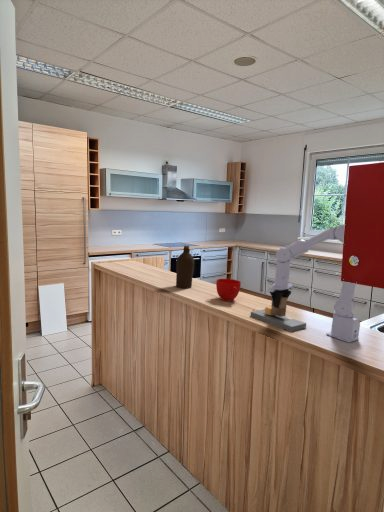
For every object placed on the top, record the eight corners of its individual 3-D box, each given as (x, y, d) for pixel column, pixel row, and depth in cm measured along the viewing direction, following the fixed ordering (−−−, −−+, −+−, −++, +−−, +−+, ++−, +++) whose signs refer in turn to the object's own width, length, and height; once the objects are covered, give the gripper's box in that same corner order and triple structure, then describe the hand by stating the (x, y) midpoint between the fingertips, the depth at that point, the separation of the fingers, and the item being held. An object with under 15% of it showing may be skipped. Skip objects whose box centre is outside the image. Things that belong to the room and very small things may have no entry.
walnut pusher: (285, 315, 142) (287, 297, 141) (280, 316, 140) (282, 298, 139) (276, 312, 146) (277, 295, 145) (270, 313, 144) (272, 295, 143)
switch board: (305, 327, 138) (306, 323, 138) (291, 331, 132) (291, 326, 132) (265, 313, 155) (265, 309, 155) (250, 316, 149) (250, 311, 149)
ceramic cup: (222, 304, 165) (224, 285, 164) (211, 296, 181) (213, 278, 180) (246, 304, 169) (248, 285, 167) (233, 296, 185) (235, 278, 184)
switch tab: (275, 314, 147) (276, 307, 146) (270, 315, 144) (270, 308, 144) (270, 312, 149) (271, 306, 149) (264, 313, 147) (265, 307, 146)
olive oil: (190, 289, 194) (193, 247, 191) (173, 287, 196) (175, 245, 193) (193, 286, 204) (196, 245, 201) (177, 284, 206) (179, 244, 203)
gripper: (285, 273, 149) (281, 302, 150) (263, 275, 140) (260, 306, 141) (298, 276, 143) (295, 306, 145) (277, 278, 134) (273, 310, 136)
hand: (279, 306), depth 143 cm, fingers closed on walnut pusher, 3 cm apart
